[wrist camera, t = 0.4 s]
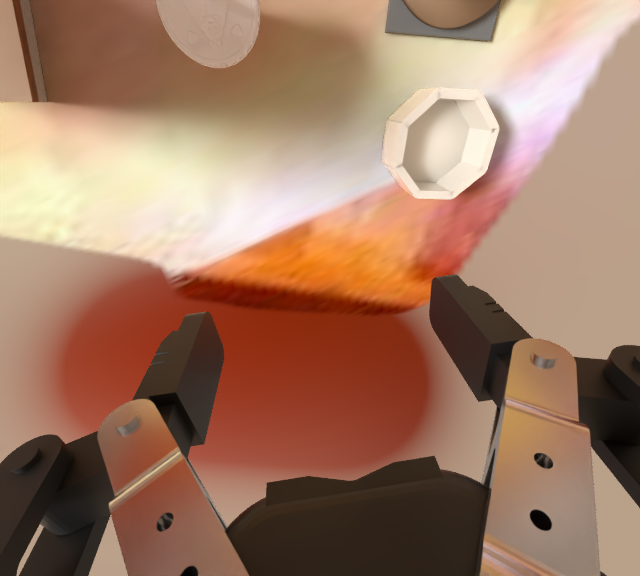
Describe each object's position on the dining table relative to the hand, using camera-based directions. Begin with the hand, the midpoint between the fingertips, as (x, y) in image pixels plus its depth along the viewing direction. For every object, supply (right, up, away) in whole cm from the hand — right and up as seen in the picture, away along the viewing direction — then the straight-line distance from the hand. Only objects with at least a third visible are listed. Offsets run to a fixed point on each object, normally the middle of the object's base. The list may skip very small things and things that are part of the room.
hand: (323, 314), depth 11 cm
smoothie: (-8, +24, +17) cm, 30 cm away
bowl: (+11, +17, +23) cm, 30 cm away
